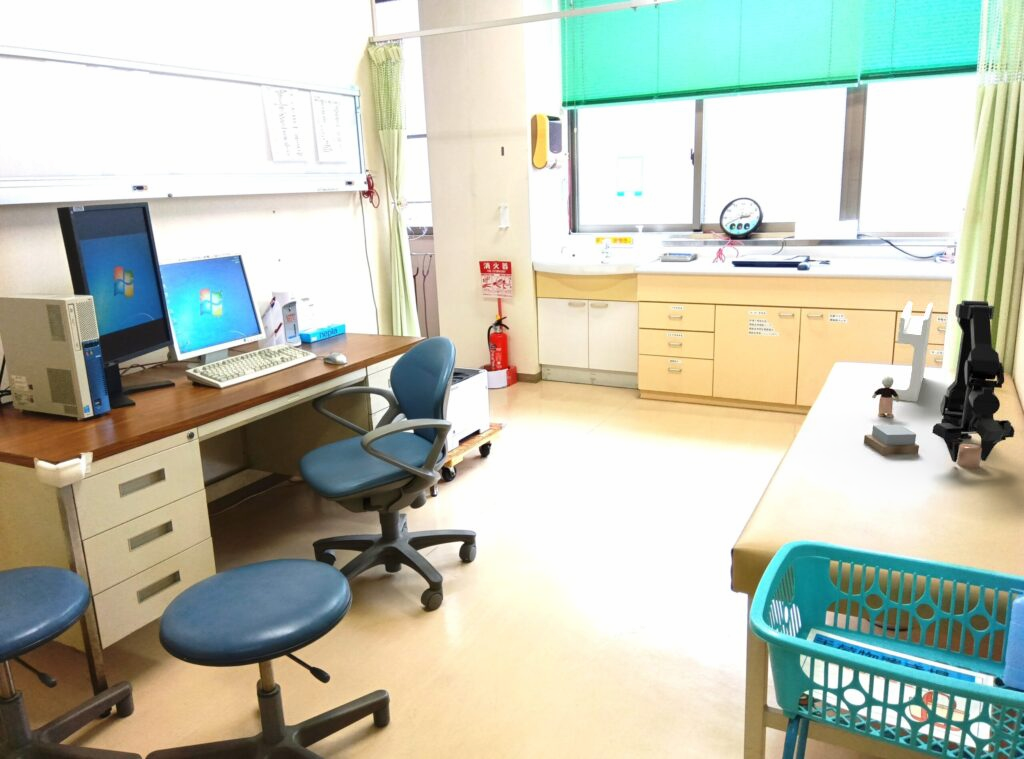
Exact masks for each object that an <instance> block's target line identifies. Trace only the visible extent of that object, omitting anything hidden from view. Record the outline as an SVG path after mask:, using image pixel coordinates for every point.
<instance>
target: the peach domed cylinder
mask: <svg viewBox="0 0 1024 759" xmlns="http://www.w3.org/2000/svg"><path fill="white" fill-rule="evenodd" d="M981 452H982V448H981V445H980V446H979V445H977V444H973V443H961V444H960V445H959V451H958V457H957V461H956V464H957V466H959V467H961V468H962V467H963V468H965V469H979V468H980V463H981Z"/></svg>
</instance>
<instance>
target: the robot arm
mask: <svg viewBox="0 0 1024 759" xmlns="http://www.w3.org/2000/svg"><path fill="white" fill-rule="evenodd" d="M994 314H995V305H989V302H988V301H986V300H984V301H982V300H962V301H961V303H957V304H956V307H955V317H956V322H957V324H958V326H959V328H960V330H961V335H960V340H959V341H960V342H959V343H960V344H959V348H958V355H957V356H958V357H957V362H956V363H957V364H956V371H955V376H954V377H955V378H954V381H953V382H951V384H950V385H949V386H948V387H947V389H946V393H945V394H944V395H943V398H942V399H941V402H940V407H939V408H940V409H939V410H940V413H941V414H940V415H941V416H942V418H941V420H940V421H941V422H938V423H935V424H934V425H933V428H932V432H931V433H932V434H934V435H935V436H938V437H940V438H941V439H943V441H944V443H945V445H946V447H947V450H948V453H949V455H950V459H951V461H952V462H953V463H957V460H958V454H959V447H960V445H961V444H963V442H964V440H963V439H972V435H973V434H977V435H979V437H980V447H981V448H982V452H981V458H980V461H983V462H985V461H986V460H987V459H988V457H989V455H990V453H991V452H992V451H993V449H994V448H995V447H996V445H997V444H998V443H1000V442H1002V441H1006V440H1007V438H1014V437H1015V427H1013V425H1012V423H1011V422H1010V420H1008V419H1006V420H1005V419H1004V420H1003V419H1002V420H999V419H994V415H995V414H996V413H997V412H998V410H1000V406H1001V403H1000V399H999V398H998V396H997V395H996V394H995V388H997V389H1002V388H1003V384H1004V383H1005V368H1004V366H1003V363H1002V361H1000V357H999V352H998V351H996V350H995V349H994V348H993V342H992V340H993V338H992V330H991V329H992V327H991V320H994ZM995 379H996V380H995Z"/></svg>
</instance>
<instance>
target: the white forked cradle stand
mask: <svg viewBox="0 0 1024 759" xmlns="http://www.w3.org/2000/svg"><path fill="white" fill-rule="evenodd" d="M933 307H934V302H930V303H928V305H927V307H926V310H925V313H924V315H923V316H919V315H912V312H913V302H912V301H908V302H907V304H906V305H905V307H904V309H903V311H902V313H901V315H900V316H899V324H898V325H899V326H898V332H897V340H896V344H902V345H903V344H904V345H910V346H912V347H913V354H912V355H913V357H912V363H911V366H903V365H900V366H899V368H898V371H897V373H896V375H895V376H896V377H895V378H894V380H893V385H892V386H891V389H894V390H895V391H896V393H897V394H898V397H899V400H901V401H907V402H908V401H909V402H916V403H917V402H918V400H919V396H920V391H921V388H922V384H923V379H924V374H925V369H926V368H925V367H926V361H927V360H926V359H927V353H928V345H929V338H930V330H931V323H932V314H933ZM892 398H893V400H896V399H895V397H894V396H893V395H892Z"/></svg>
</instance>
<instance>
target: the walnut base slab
mask: <svg viewBox="0 0 1024 759" xmlns="http://www.w3.org/2000/svg"><path fill="white" fill-rule="evenodd" d="M863 444H864V445H866V446H867V447H869V448H871V449H872V450H874V451H875V452H876V453H878V454H880V455H881V456H904V455H918V454H919V450H920V445H919V444H917V443H915V445H885V444H884V443H882V442H881V441H879V440H878V439H876V438H875V437H874V436H872V434H864V437H863Z"/></svg>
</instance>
